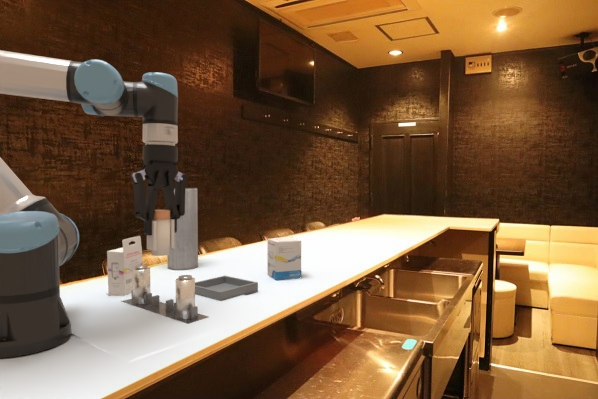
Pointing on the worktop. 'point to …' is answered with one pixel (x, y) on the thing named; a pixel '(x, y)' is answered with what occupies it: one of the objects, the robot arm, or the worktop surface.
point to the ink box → (284, 258)
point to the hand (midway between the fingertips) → (160, 248)
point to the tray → (225, 287)
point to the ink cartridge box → (123, 266)
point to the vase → (186, 235)
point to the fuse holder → (178, 311)
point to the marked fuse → (162, 232)
